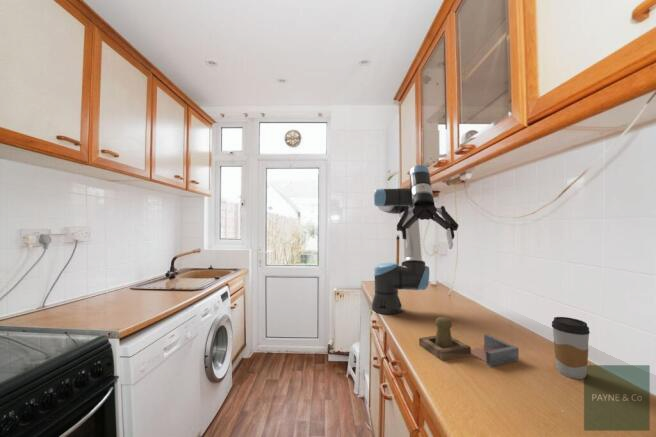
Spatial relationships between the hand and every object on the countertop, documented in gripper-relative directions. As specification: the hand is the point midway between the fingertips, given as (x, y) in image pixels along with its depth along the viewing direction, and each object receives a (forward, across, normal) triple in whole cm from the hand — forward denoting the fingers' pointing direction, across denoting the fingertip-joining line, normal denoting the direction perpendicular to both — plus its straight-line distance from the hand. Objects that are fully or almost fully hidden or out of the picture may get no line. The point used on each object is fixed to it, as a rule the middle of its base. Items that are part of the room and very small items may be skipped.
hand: (429, 246), depth 91 cm
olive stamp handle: (+26, +5, +26) cm, 37 cm away
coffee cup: (+32, +38, +18) cm, 52 cm away
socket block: (+26, +5, +26) cm, 37 cm away
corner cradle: (+27, +19, +24) cm, 41 cm away
